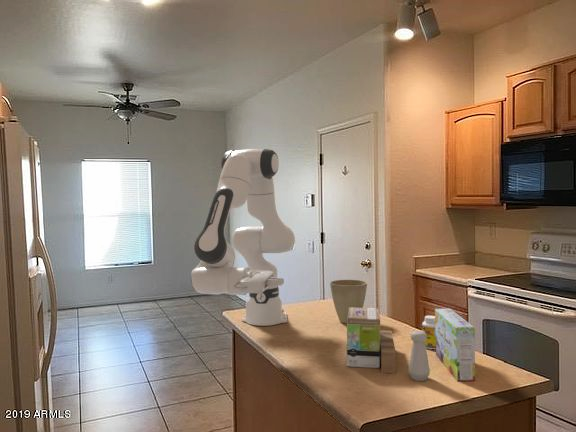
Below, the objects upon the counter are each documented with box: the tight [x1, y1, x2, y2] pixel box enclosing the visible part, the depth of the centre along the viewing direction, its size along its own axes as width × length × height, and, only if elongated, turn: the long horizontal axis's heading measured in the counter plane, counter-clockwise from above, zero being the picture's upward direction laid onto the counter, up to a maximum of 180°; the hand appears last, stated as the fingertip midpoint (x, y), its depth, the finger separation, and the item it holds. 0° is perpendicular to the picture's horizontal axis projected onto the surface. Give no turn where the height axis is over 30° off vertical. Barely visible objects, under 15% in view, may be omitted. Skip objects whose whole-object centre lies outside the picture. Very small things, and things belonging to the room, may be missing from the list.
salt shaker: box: [407, 330, 431, 382], centre depth 129 cm, size 6×6×13 cm
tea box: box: [346, 307, 381, 369], centre depth 145 cm, size 15×10×15 cm
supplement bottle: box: [421, 315, 436, 350], centre depth 156 cm, size 6×6×10 cm
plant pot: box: [329, 279, 368, 325], centre depth 189 cm, size 15×15×16 cm
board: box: [380, 329, 397, 374], centre depth 144 cm, size 22×4×6 cm, turn 171°
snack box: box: [434, 308, 476, 382], centre depth 137 cm, size 21×6×15 cm, turn 178°
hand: (283, 281), depth 149 cm, fingers closed
